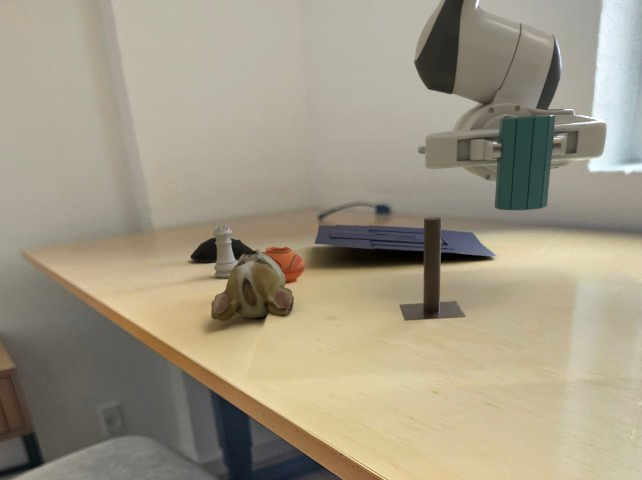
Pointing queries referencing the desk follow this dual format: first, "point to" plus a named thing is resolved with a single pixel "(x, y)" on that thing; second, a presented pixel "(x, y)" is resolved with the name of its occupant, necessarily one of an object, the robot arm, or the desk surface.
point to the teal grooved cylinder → (524, 162)
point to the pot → (287, 262)
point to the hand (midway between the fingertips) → (527, 148)
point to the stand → (431, 280)
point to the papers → (398, 239)
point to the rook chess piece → (223, 252)
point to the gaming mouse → (209, 250)
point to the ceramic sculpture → (253, 289)
